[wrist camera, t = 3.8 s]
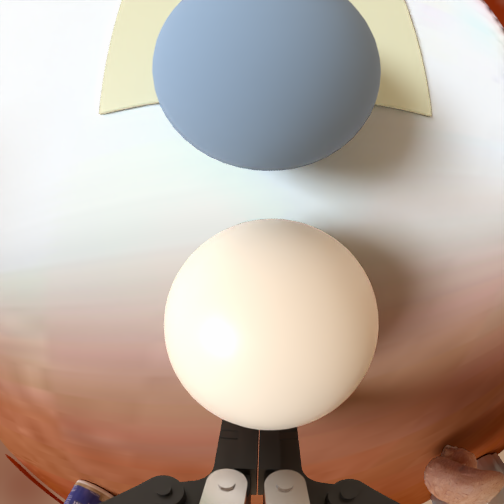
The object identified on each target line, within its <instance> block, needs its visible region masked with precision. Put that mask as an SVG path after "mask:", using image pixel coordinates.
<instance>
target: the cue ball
mask: <svg viewBox="0 0 504 504" xmlns="http://www.w3.org/2000/svg"><path fill="white" fill-rule="evenodd" d="M378 330H379V322H378V308H377V303H376V298H375V294H374V291H373V288H372V285H371V283H370V281H369V279H368V277H367V275H366V273H365V271H364V269H363V268H362V266H361V265H360V264H359V262H358V261H357V259H356V258H355V257H354V256H353V255H352V254H351V252H350V251H349V250H348V249H347V248H346V247H345V246H344V245H342V244H341V243H340V242H339V241H337V240H336V239H335V238H333V237H332V236H330V235H328V234H327V233H325V232H323V231H321V230H320V229H317V228H315V227H312V226H310V225H307V224H304V223H301V222H296V221H291V220H285V219H259V220H254V221H248V222H244V223H240V224H238V225H235V226H232V227H230V228H227V229H225V230H223V231H221V232H220V233H218V234H216V235H214V236H213V237H211V238H210V239H208V240H207V241H206V242H205V243H203V244H202V245H201V246H199V247H198V249H197V250H196V251H195V252H194V253H193V254H192V255H191V256H190V257H189V258H188V259H187V261H186V262H185V263H184V265H183V266H182V268H181V269H180V270H179V272H178V274H177V276H176V278H175V280H174V282H173V284H172V287H171V289H170V292H169V295H168V298H167V303H166V308H165V316H164V333H165V343H166V348H167V352H168V356H169V359H170V362H171V364H172V367H173V369H174V371H175V373H176V375H177V377H178V378H179V380H180V382H181V383H182V385H183V386H184V387H185V389H186V390H187V391H188V392H189V394H190V395H191V396H192V397H193V398H194V399H195V400H196V401H197V402H198V403H200V404H201V405H202V406H203V407H204V408H205V409H207V410H208V411H210V412H211V413H213V414H215V415H216V416H218V417H220V418H221V419H223V420H225V421H228V422H230V423H233V424H236V425H239V426H242V427H246V428H251V429H257V430H283V429H290V428H294V427H298V426H301V425H305V424H308V423H311V422H313V421H315V420H318V419H319V418H321V417H323V416H325V415H327V414H328V413H330V412H332V411H333V410H334V409H336V408H337V407H338V406H339V405H340V404H342V403H343V402H344V401H345V400H346V399H347V398H348V397H349V396H350V395H351V394H352V393H353V392H354V391H355V389H356V388H357V387H358V385H359V384H360V382H361V381H362V379H363V377H364V376H365V374H366V373H367V371H368V369H369V366H370V364H371V362H372V359H373V356H374V353H375V349H376V345H377V339H378Z"/></svg>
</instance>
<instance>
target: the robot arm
mask: <svg viewBox="0 0 504 504" xmlns="http://www.w3.org/2000/svg"><path fill="white" fill-rule="evenodd" d="M258 439H259V430H257V429H251V428H246V427H242V426H239V425H236V424H233V423H230V422H228V421H225V420H222V425H221V431H220V436H219V442H218V448H217V453H216V459H215V464H214V468H213V470H212V472H211V473H210V474H209V475H208V476H206V477H205V478H203V479H200V480H196V481H188V482H179V481H178V480H177V479H175V478H173V477H170V476H156V477H153V478H151V479H149V480H147V481H145V482H144V483H142V484H140V485H138V486H136V487H134V488H132V489H130V490H128V491H125V492H123V493H121V494H119V495H117V496H115V497H112V498H110V499H108V500H106V501H103V502H101V503H98V504H251V495H256V492H257V467H258ZM477 469H481V470H492V471H498V472H501V473H503V474H504V463H503V462H502V460H501V459H500V457H499V456H498V454H497V453H494V454H492V455H491V454H488V455H486V456H483V457H481V458H480V459H478V460H477ZM258 495H263V504H399V503H398V502H396V501H394V500H392V499H390V498H388V497H386V496H384V495H383V494H381V493H379V492H377V491H376V490H374V489H372V488H370V487H369V486H367V485H365V484H364V483H362V482H360V481H358V480H354V479H345V480H341V481H339V482H337V483H335V484H327V483H320V482H316V481H313V480H311V479H309V478H308V477H307V476H306V475H305V474H304V473H303V471H302V468H301V459H300V450H299V440H298V432H297V427H294V428H290V429H283V430H260V440H259V473H258ZM431 500H432V503H433V504H449V503H446V502H444V501H441V500H439V499H438V498H436V497H435V496H434V495H433V494H432V495H431ZM487 504H504V487H503V488H502V490H501V491H500V492H499V493H498V494H497V495H496V496H495V497H494V498H493V499H492V500H491V501H490V502H489V503H487Z"/></svg>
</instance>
